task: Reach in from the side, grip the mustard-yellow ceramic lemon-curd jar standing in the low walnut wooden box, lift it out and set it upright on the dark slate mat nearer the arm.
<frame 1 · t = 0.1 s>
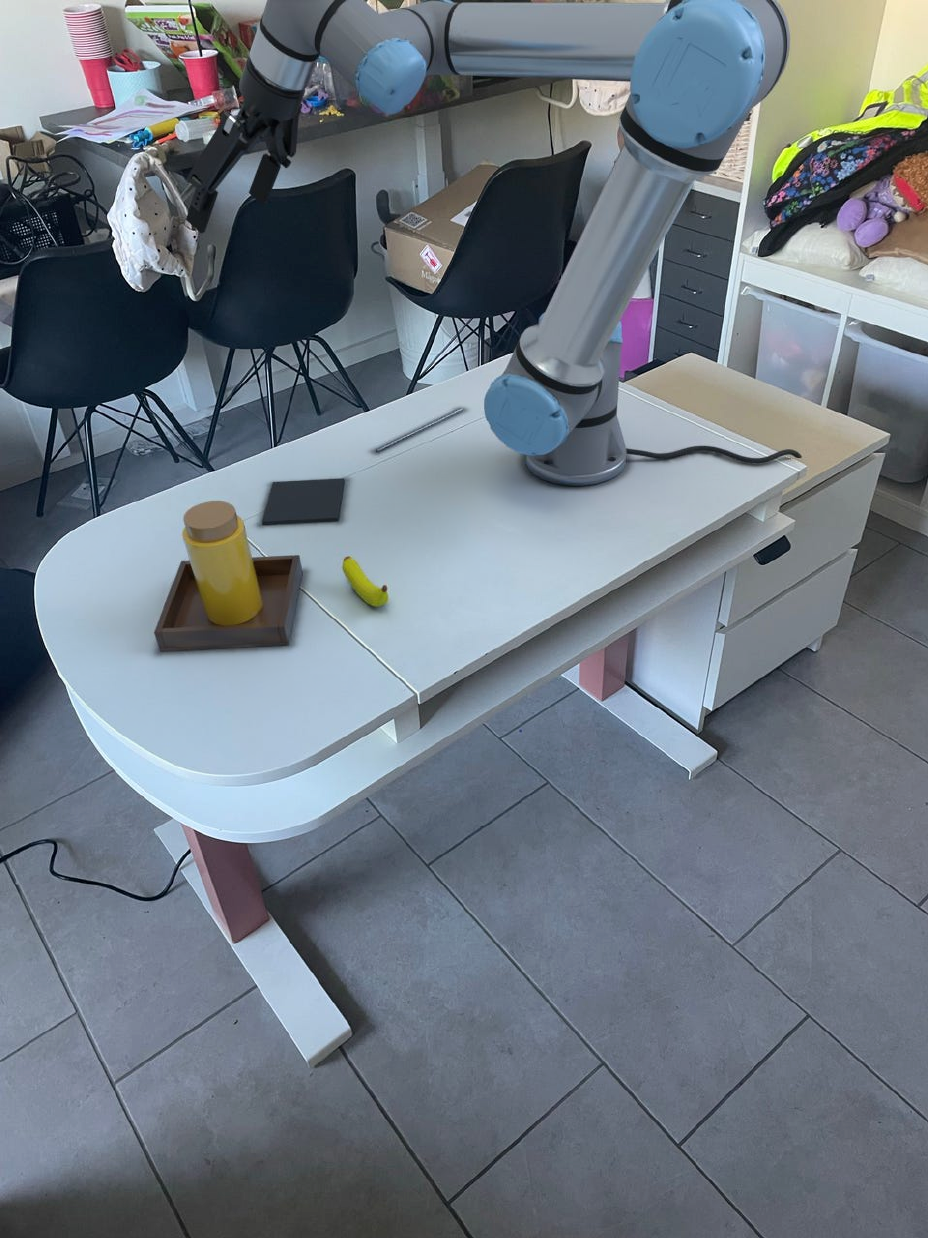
hand: (227, 211, 126), 36 cm above the table, tool tilted 35°, fingers open, 13 cm apart
mat: (305, 502, 134), on the table
jar: (234, 607, 115), resting on box
rod: (421, 432, 150), on the table
box: (235, 610, 115), on the table
fruit: (369, 600, 116), on the table
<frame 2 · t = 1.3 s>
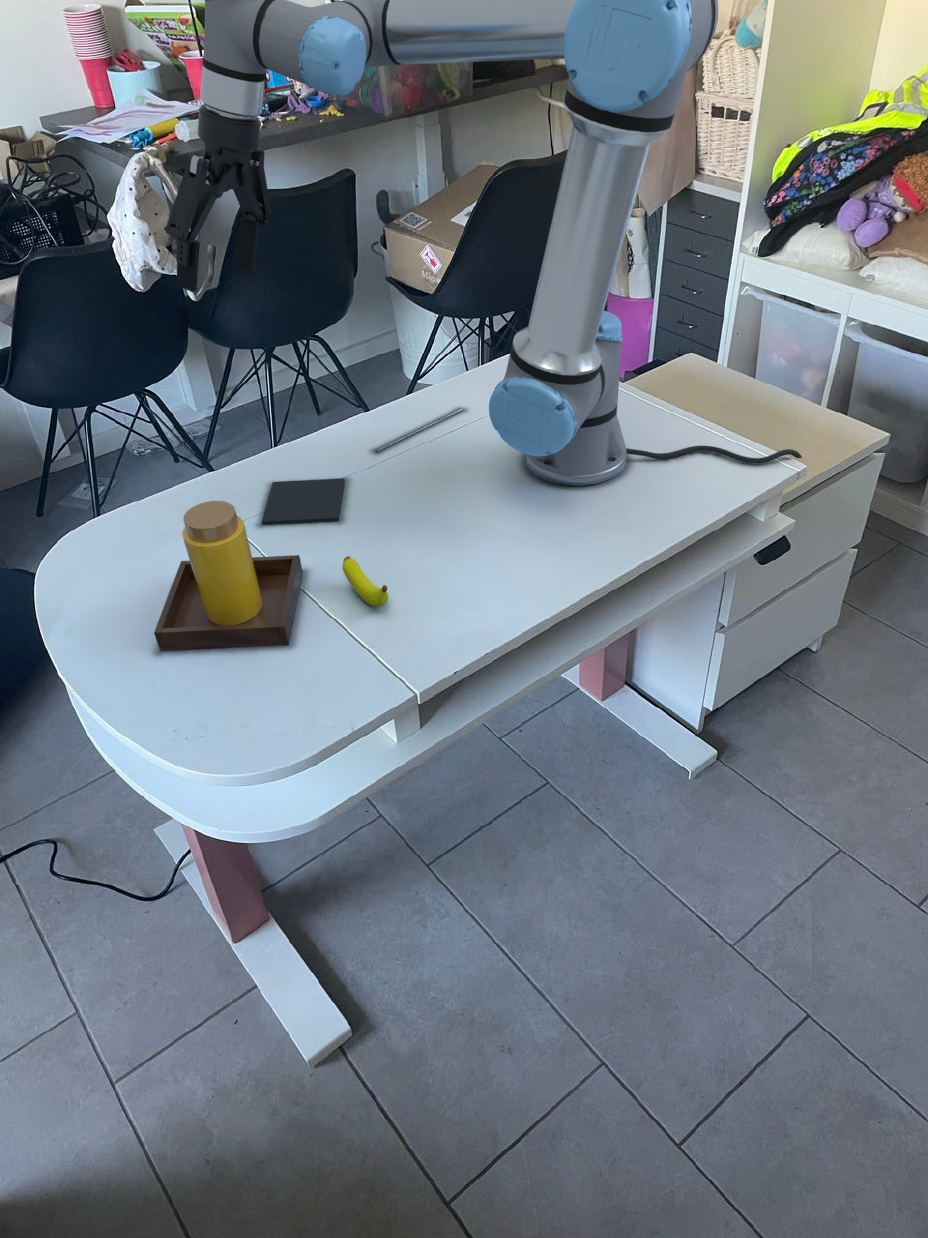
hand: (216, 277, 126), 29 cm above the table, tool tilted 15°, fingers open, 13 cm apart
nothing on the table moved.
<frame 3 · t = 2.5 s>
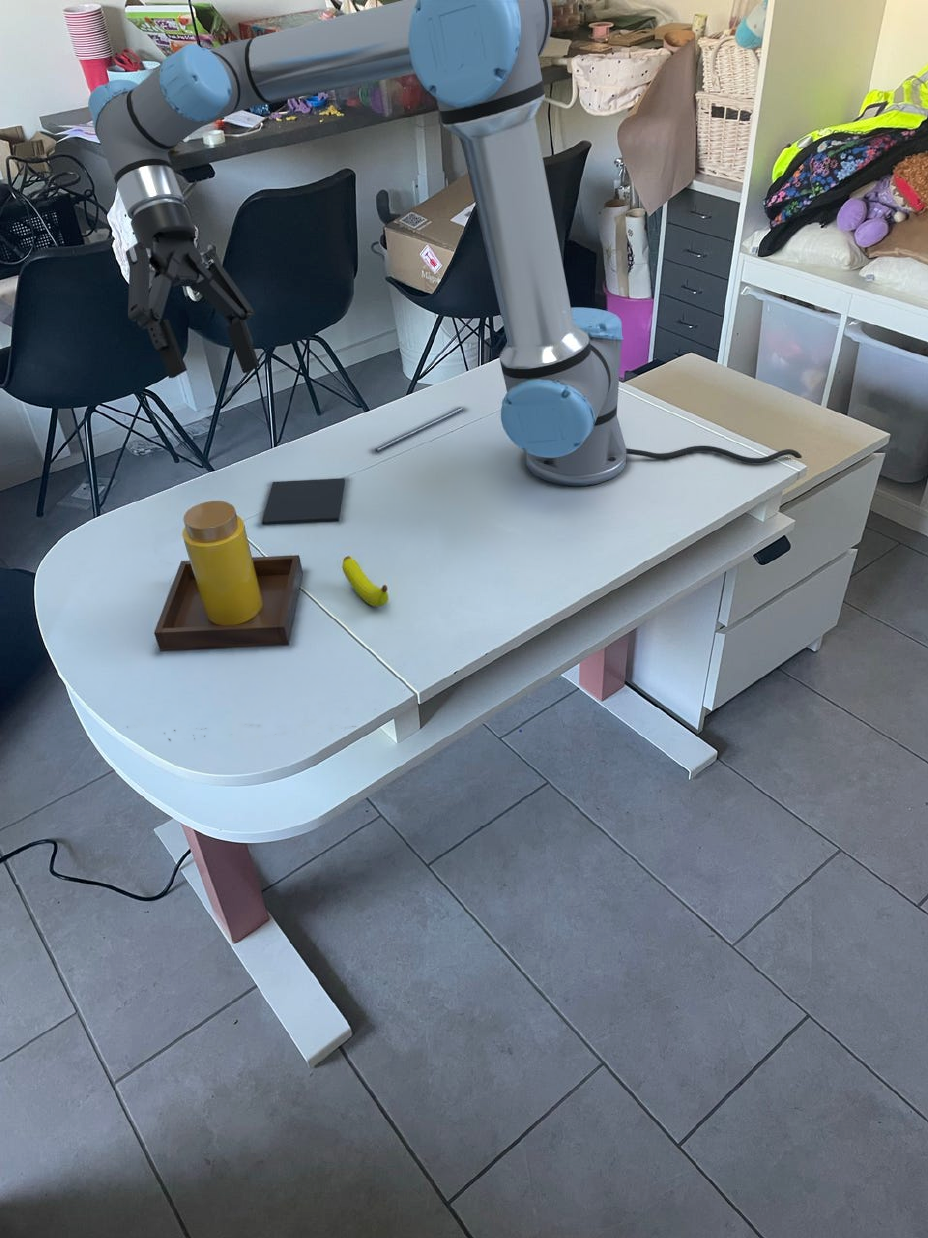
hand: (216, 372, 120), 21 cm above the table, tool tilted 35°, fingers open, 13 cm apart
nothing on the table moved.
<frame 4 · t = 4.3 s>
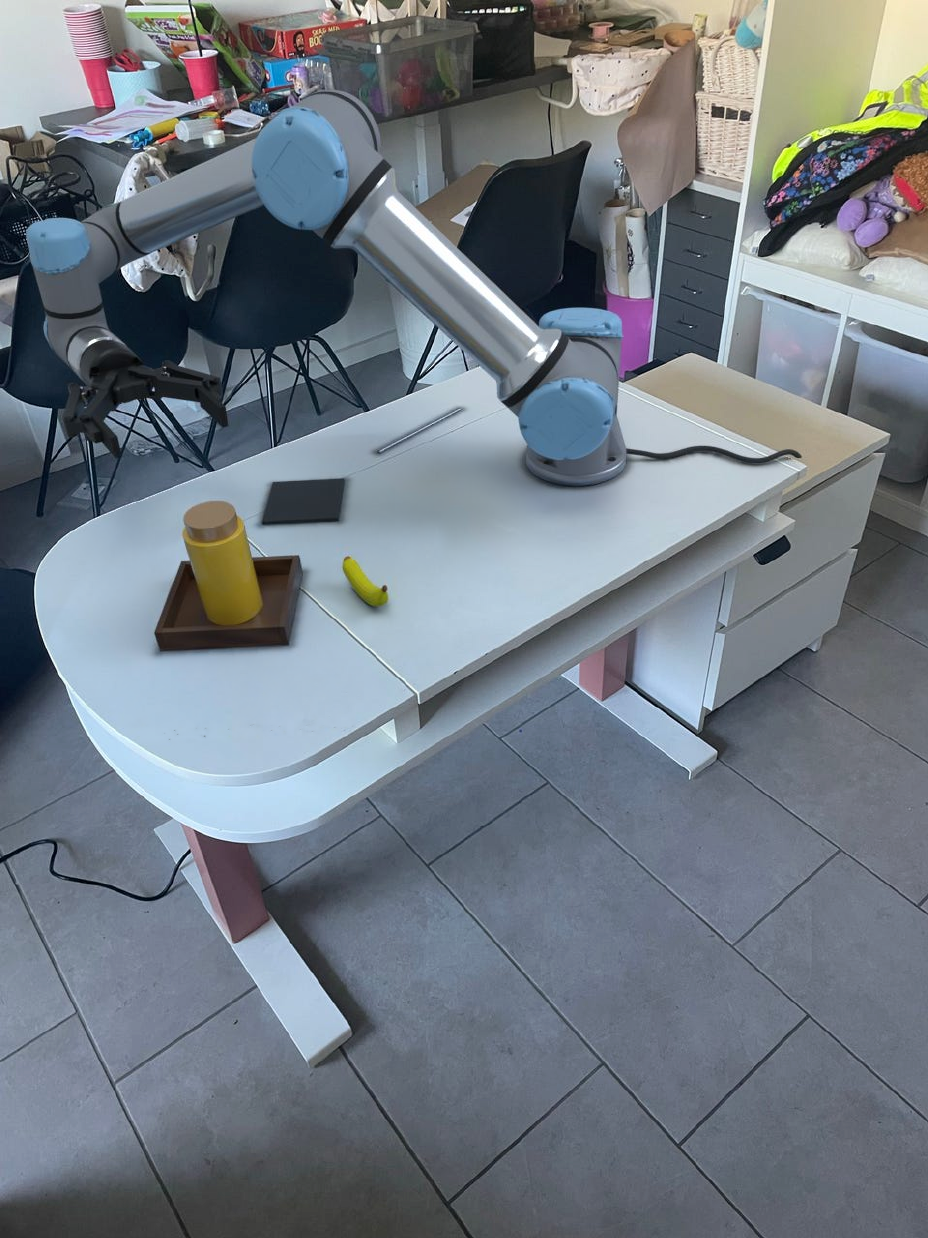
hand: (172, 431, 109), 21 cm above the table, tool horizontal, fingers open, 13 cm apart
nothing on the table moved.
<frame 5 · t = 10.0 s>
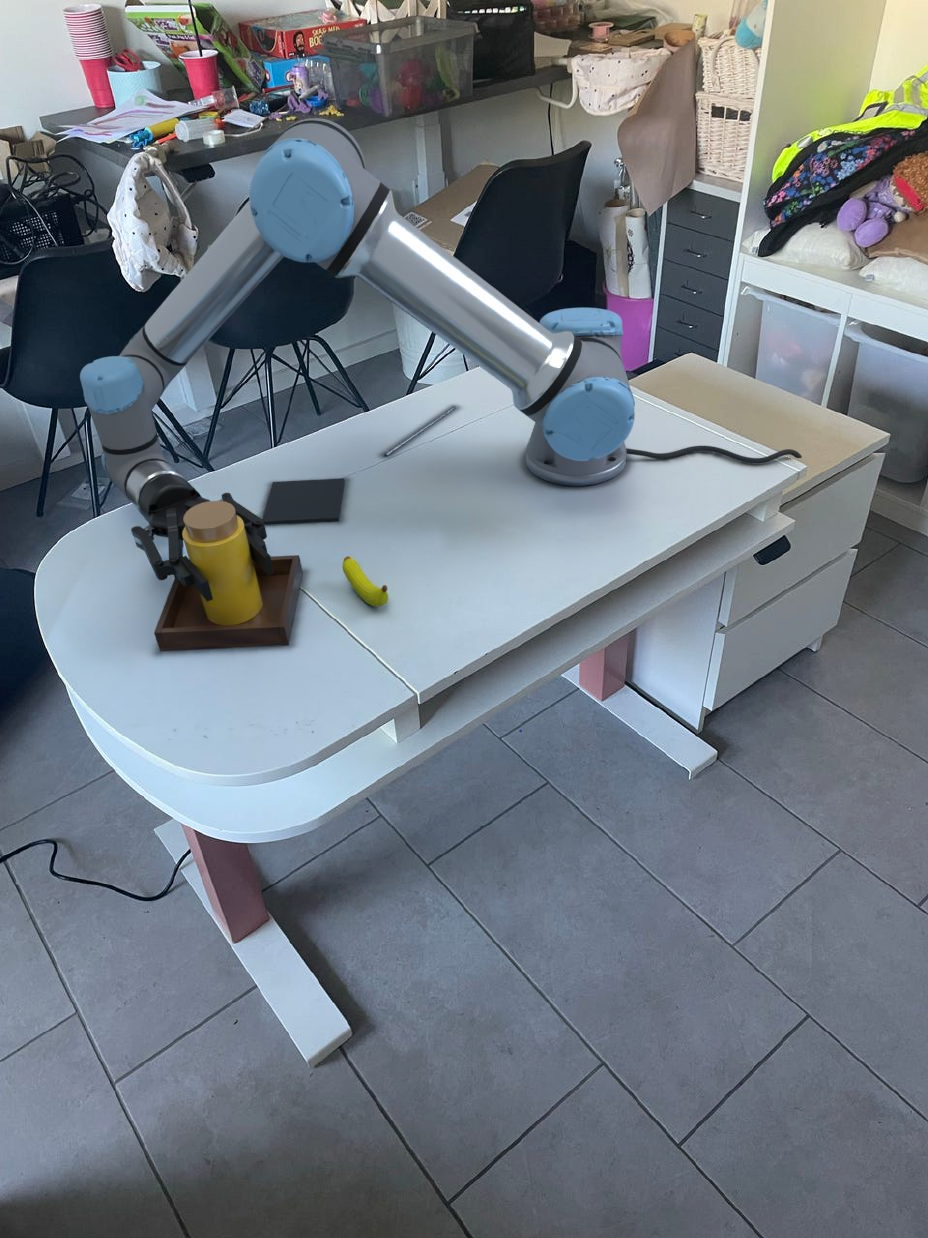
hand: (238, 578, 107), 8 cm above the table, tool horizontal, fingers closed on jar, 7 cm apart
jar: (234, 607, 115), point 1 cm above the table, touching box, gripper
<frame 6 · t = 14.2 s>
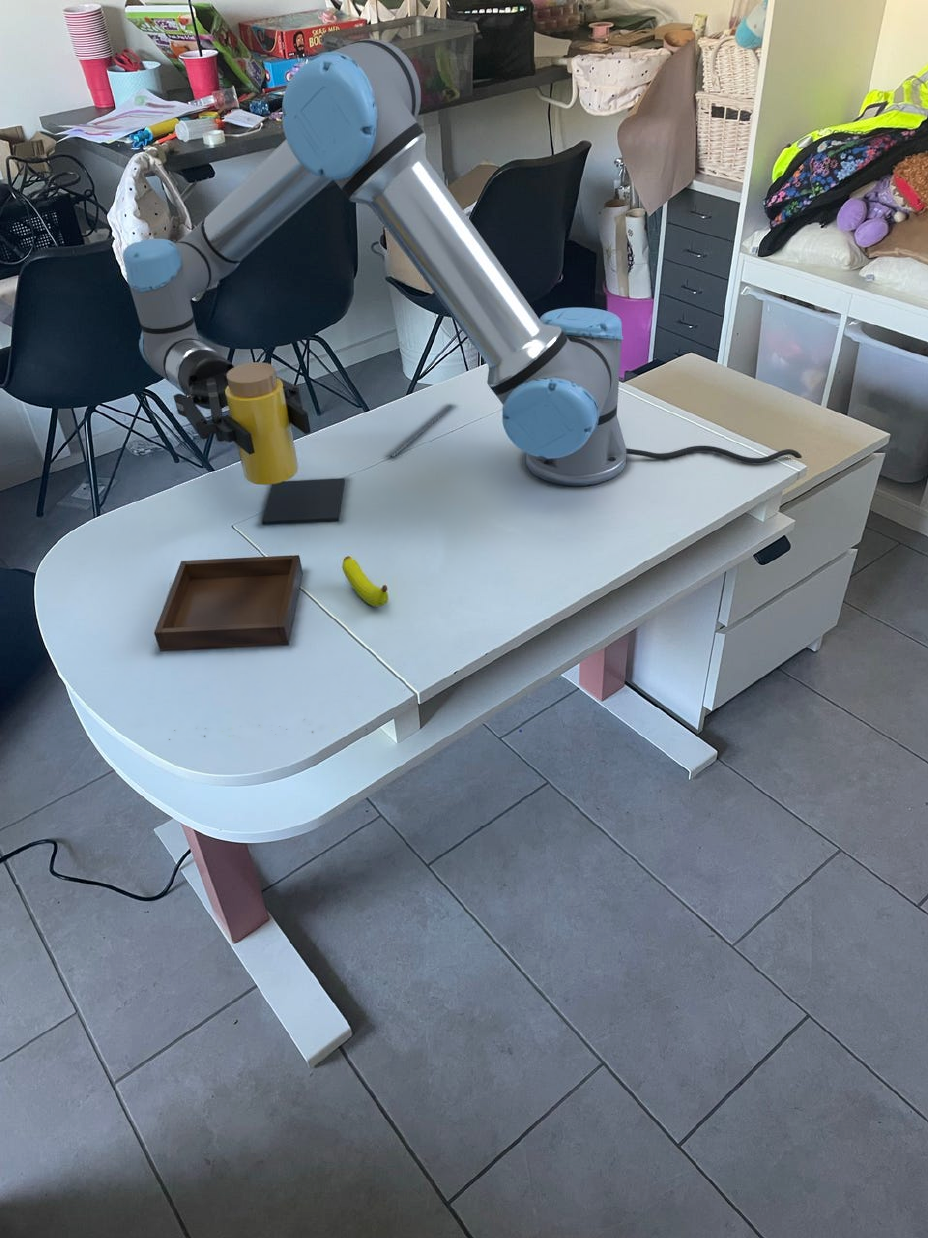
hand: (278, 433, 113), 18 cm above the table, tool horizontal, fingers closed on jar, 7 cm apart
jar: (271, 470, 121), point 10 cm above the table, touching gripper
when the fingers open (8 cm above the table, at t = 18.4 s): jar stays where it is, resting on mat.
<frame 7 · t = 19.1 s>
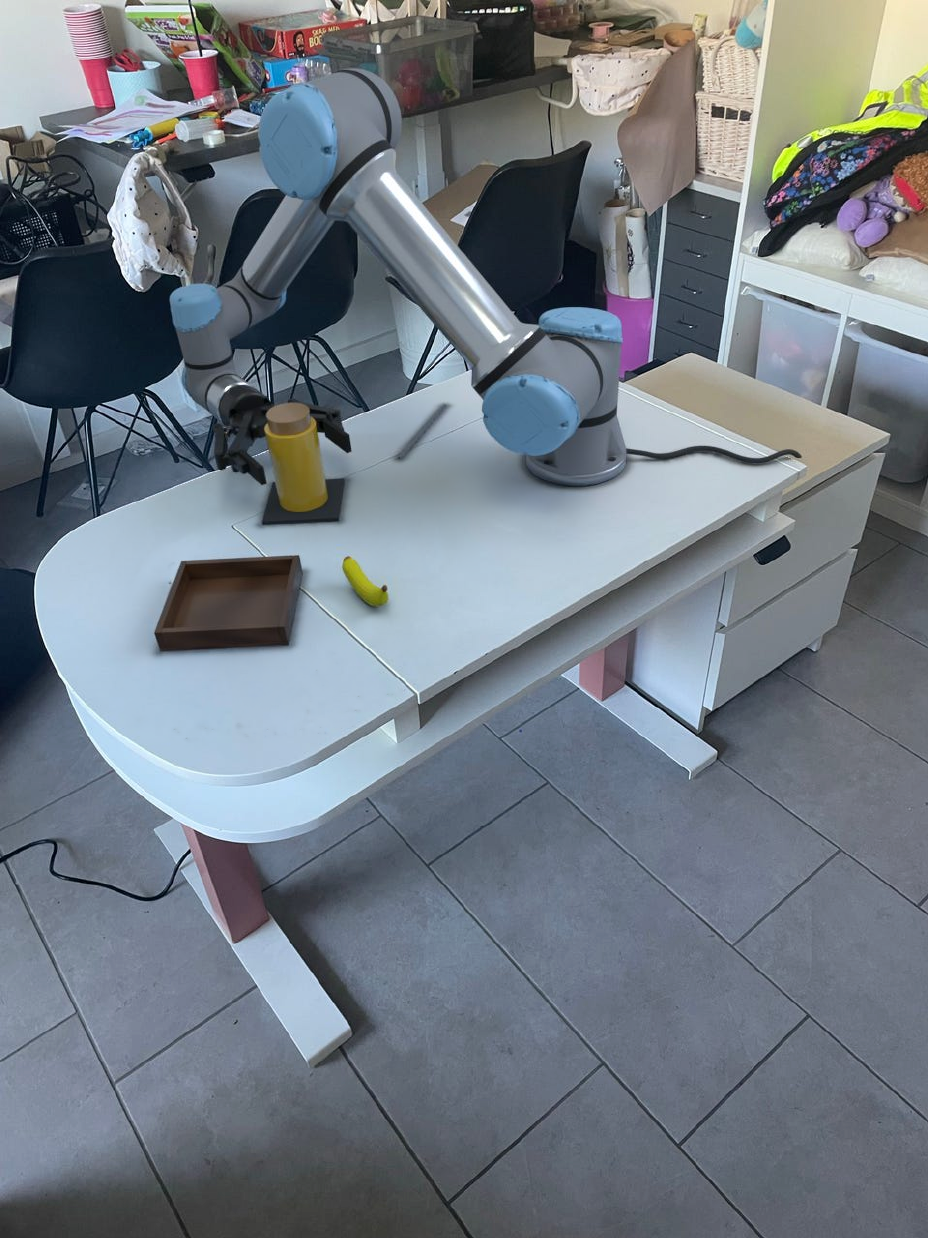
hand: (306, 459, 127), 9 cm above the table, tool horizontal, fingers open, 13 cm apart
jar: (303, 498, 134), point 1 cm above the table, touching mat
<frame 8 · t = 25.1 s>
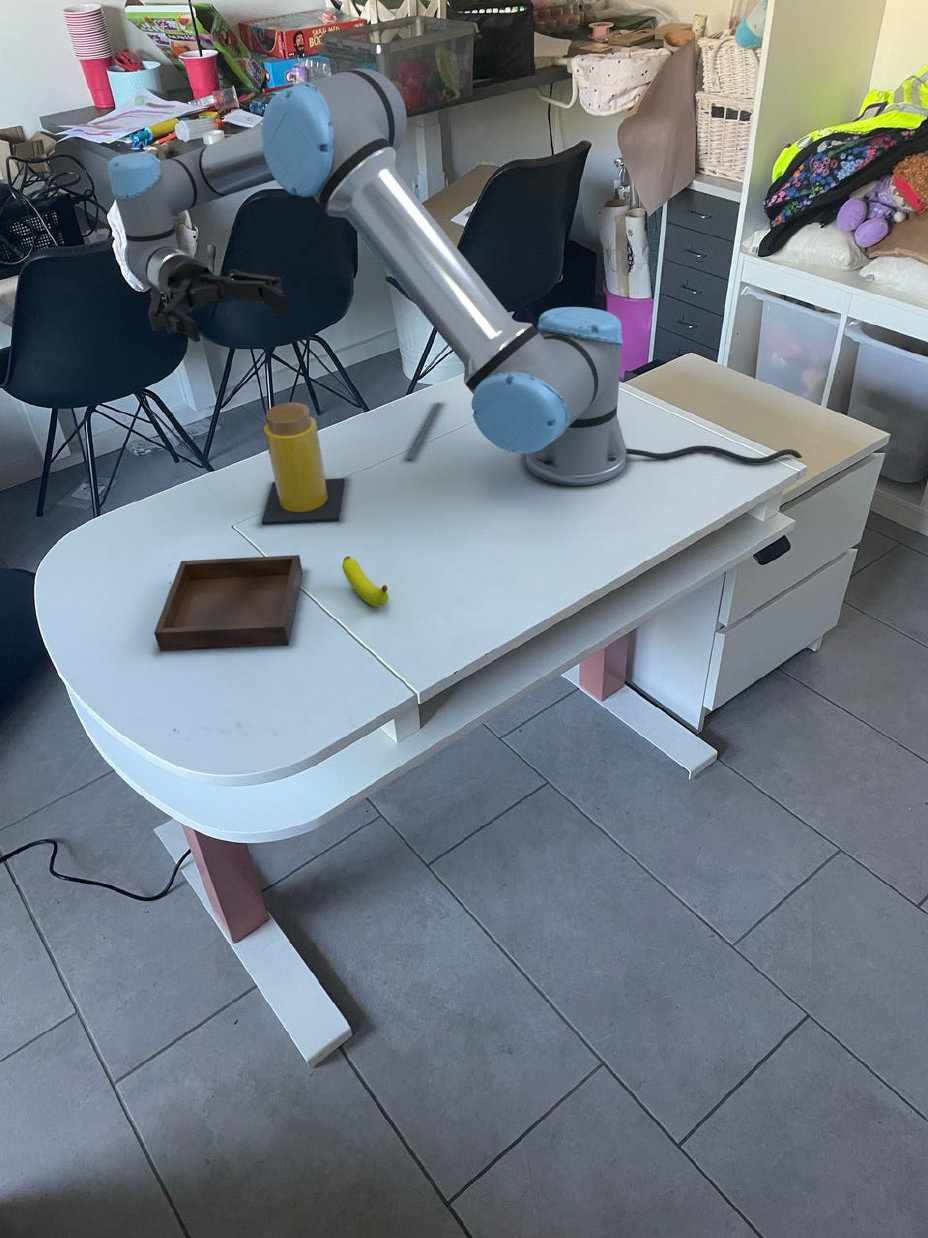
hand: (242, 318, 125), 25 cm above the table, tool horizontal, fingers open, 13 cm apart
at the end: jar inside the target area on the mat (0.1 cm from its centre), point 0.6 cm above the mat's base; jar tilted 0°; the gripper is holding nothing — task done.
